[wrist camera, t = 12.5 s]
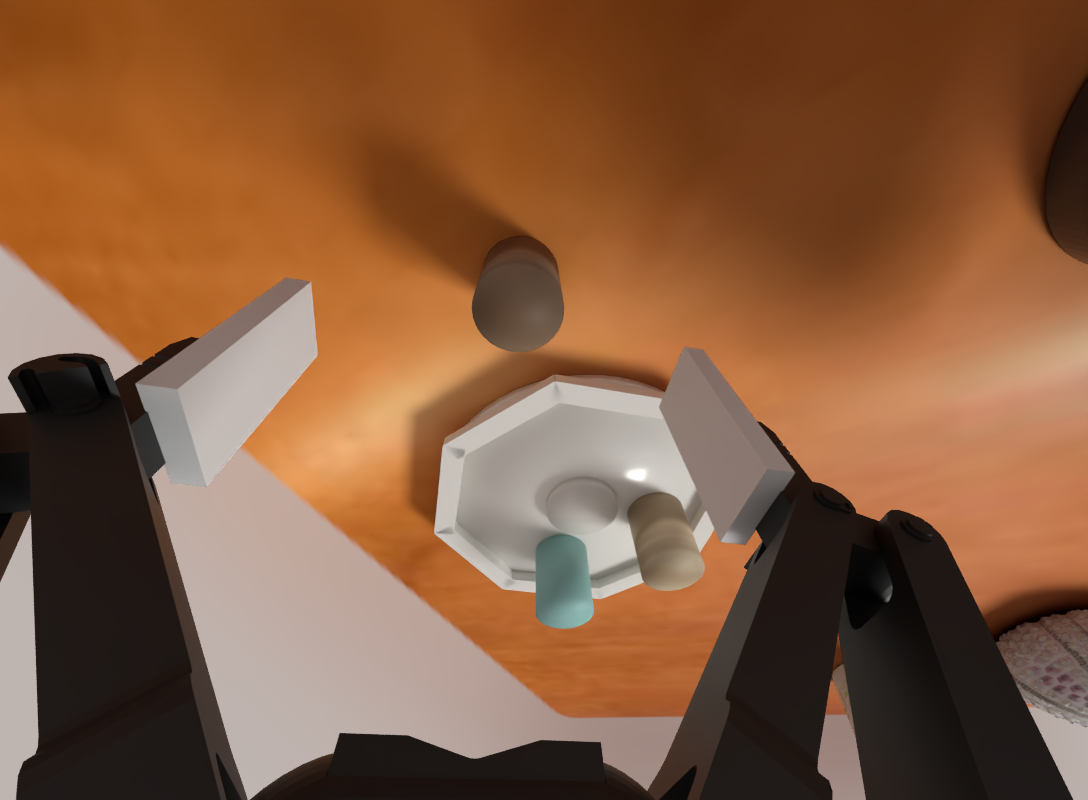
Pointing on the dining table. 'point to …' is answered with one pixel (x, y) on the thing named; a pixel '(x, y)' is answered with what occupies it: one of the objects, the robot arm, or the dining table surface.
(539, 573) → the teal bead
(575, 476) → the groove tray
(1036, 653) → the sea urchin shell
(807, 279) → the dining table surface
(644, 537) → the beige wooden cylinder
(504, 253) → the walnut bead
